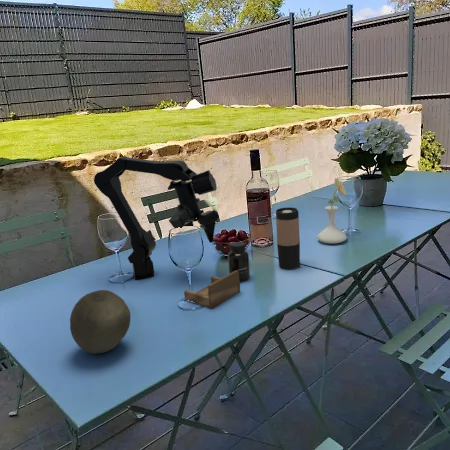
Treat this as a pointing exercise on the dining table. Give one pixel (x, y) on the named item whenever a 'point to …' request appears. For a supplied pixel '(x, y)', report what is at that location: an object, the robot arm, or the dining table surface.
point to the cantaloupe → (99, 321)
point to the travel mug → (288, 238)
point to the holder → (216, 291)
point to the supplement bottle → (239, 260)
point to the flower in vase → (333, 220)
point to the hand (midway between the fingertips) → (202, 242)
